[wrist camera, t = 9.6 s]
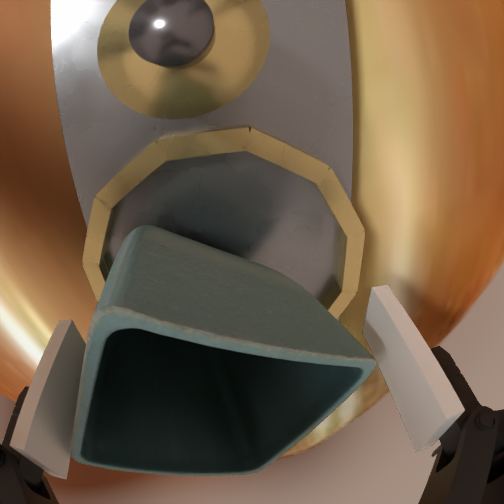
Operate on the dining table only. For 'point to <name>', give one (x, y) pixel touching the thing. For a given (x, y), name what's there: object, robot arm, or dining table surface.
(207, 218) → the board
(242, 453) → the flower pot
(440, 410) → the robot arm
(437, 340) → the dining table surface
